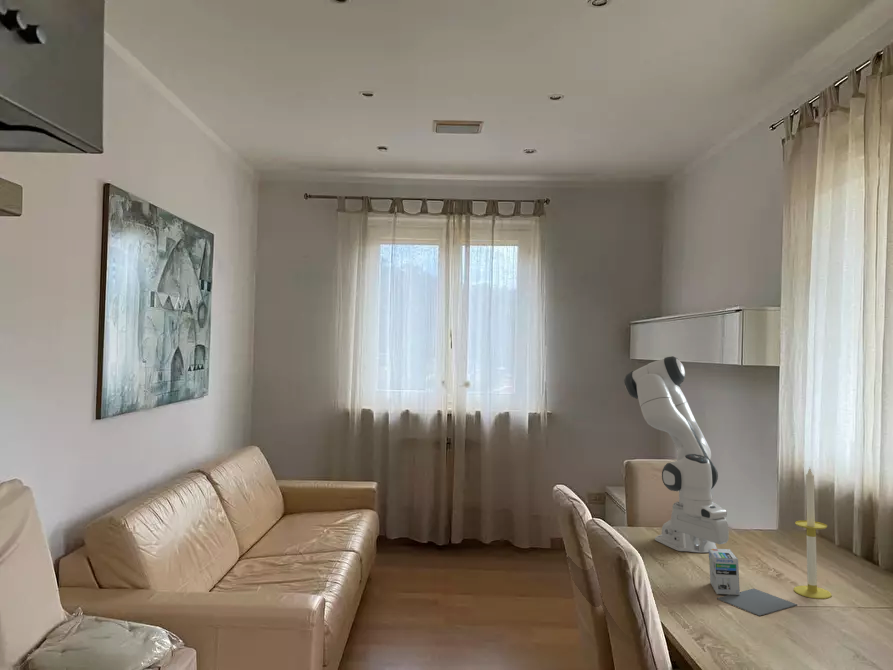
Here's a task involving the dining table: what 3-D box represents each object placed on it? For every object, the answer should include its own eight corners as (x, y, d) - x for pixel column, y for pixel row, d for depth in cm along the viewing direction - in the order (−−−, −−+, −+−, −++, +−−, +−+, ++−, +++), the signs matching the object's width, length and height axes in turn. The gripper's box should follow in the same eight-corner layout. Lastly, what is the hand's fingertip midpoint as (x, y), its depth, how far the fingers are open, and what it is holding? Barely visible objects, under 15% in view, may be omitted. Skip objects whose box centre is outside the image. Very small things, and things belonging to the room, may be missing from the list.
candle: (836, 600, 187) (833, 470, 188) (797, 597, 190) (794, 468, 191) (826, 588, 196) (824, 464, 197) (790, 585, 199) (787, 463, 200)
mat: (717, 599, 189) (717, 597, 189) (753, 589, 196) (753, 588, 196) (759, 616, 176) (759, 615, 176) (797, 605, 184) (797, 604, 184)
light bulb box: (740, 595, 190) (739, 558, 191) (716, 594, 191) (714, 557, 192) (732, 583, 200) (730, 548, 201) (709, 582, 202) (707, 547, 202)
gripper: (665, 501, 212) (666, 543, 212) (716, 515, 194) (717, 561, 194) (679, 499, 215) (680, 541, 215) (731, 512, 197) (732, 558, 197)
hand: (698, 550), depth 204 cm, fingers closed
